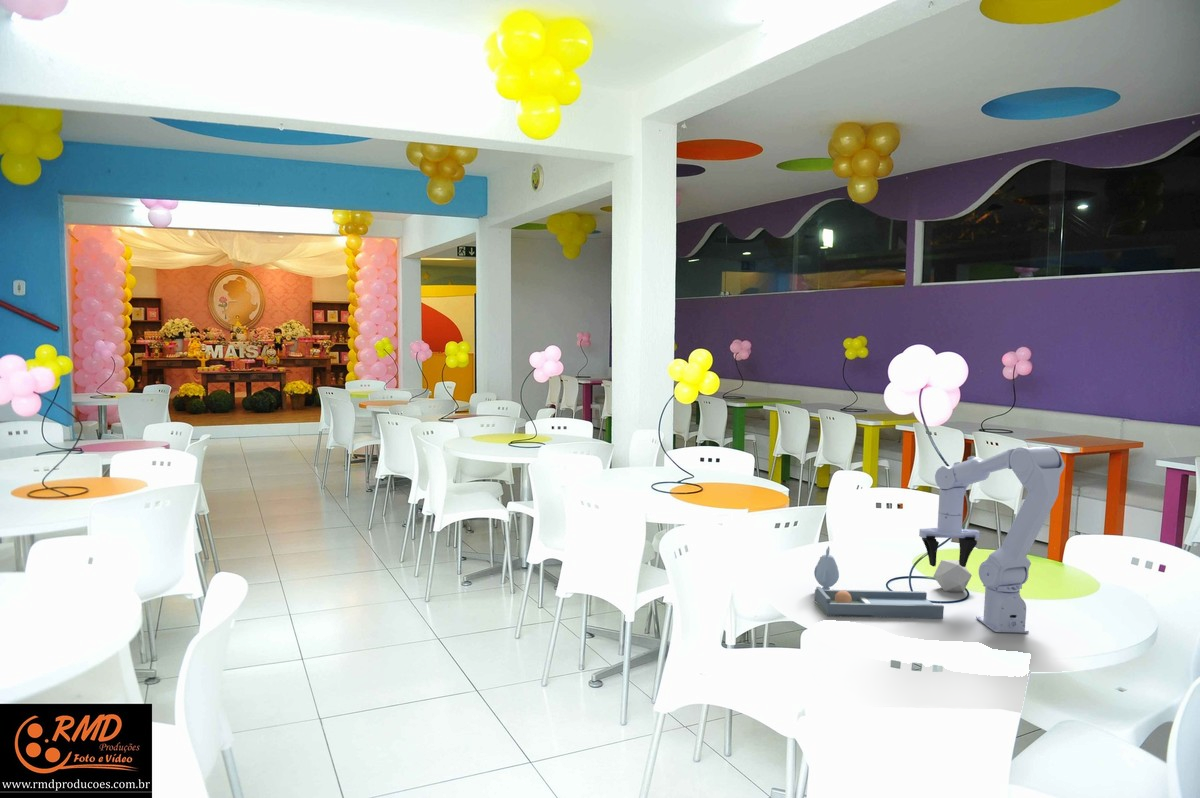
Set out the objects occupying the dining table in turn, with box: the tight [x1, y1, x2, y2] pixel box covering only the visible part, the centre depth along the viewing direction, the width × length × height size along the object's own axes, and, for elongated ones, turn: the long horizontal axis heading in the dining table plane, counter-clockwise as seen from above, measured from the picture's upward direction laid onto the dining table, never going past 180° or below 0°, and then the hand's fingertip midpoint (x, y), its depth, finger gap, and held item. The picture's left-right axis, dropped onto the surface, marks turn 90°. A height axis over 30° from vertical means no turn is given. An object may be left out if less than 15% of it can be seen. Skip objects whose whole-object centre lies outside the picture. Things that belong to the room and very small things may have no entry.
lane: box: [814, 586, 945, 619], centre depth 198 cm, size 11×28×4 cm, turn 90°
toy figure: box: [813, 545, 840, 590], centre depth 211 cm, size 11×6×12 cm, turn 156°
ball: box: [835, 591, 852, 603], centre depth 198 cm, size 4×4×4 cm
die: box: [933, 559, 973, 592], centre depth 215 cm, size 8×9×10 cm
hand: (947, 565), depth 205 cm, fingers open, 7 cm apart
